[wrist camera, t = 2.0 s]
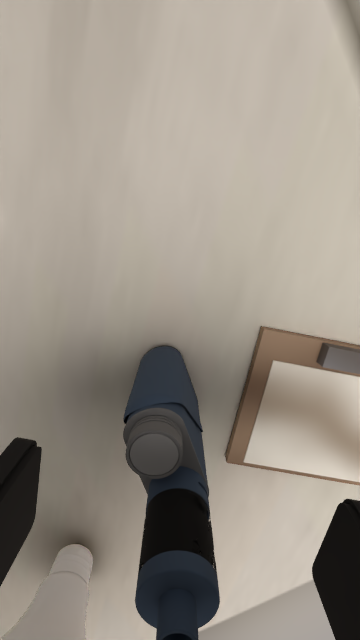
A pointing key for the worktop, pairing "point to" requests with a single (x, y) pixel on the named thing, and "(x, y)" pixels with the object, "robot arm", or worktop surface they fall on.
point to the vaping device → (171, 498)
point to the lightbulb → (59, 600)
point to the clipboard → (300, 408)
